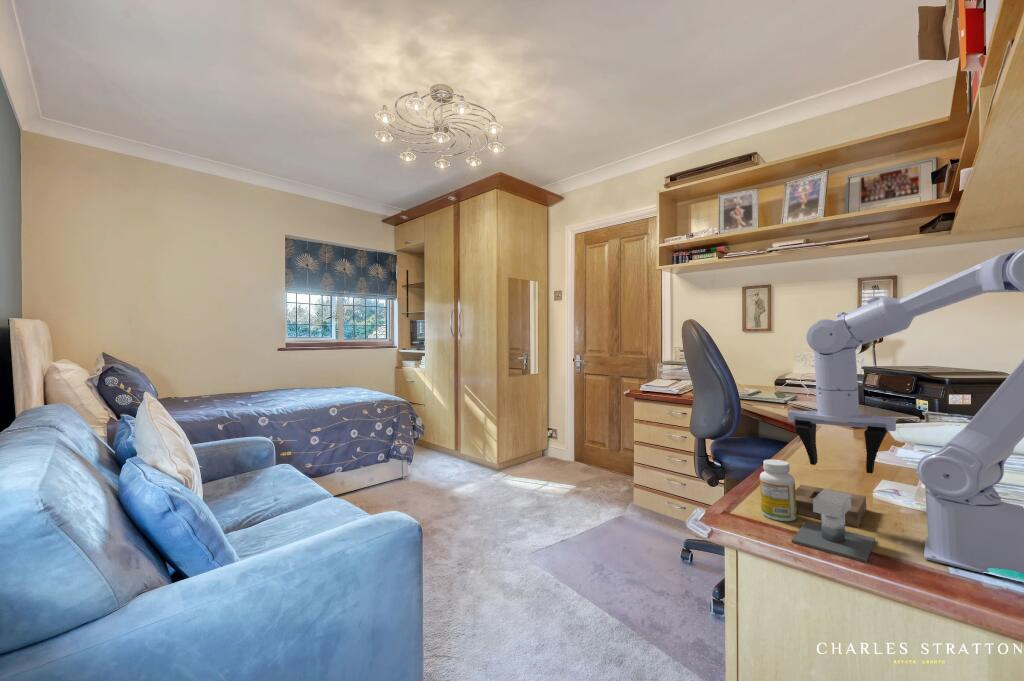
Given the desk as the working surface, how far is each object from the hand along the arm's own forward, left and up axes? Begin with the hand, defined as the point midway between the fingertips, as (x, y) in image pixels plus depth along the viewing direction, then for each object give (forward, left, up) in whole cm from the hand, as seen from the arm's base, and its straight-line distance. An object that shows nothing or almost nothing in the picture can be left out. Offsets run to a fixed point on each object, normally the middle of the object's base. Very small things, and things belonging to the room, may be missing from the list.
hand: (840, 467), depth 71 cm
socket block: (+3, -4, -9) cm, 11 cm away
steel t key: (0, +9, -9) cm, 13 cm away
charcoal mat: (0, +10, -9) cm, 13 cm away
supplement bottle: (+9, +4, -10) cm, 14 cm away
